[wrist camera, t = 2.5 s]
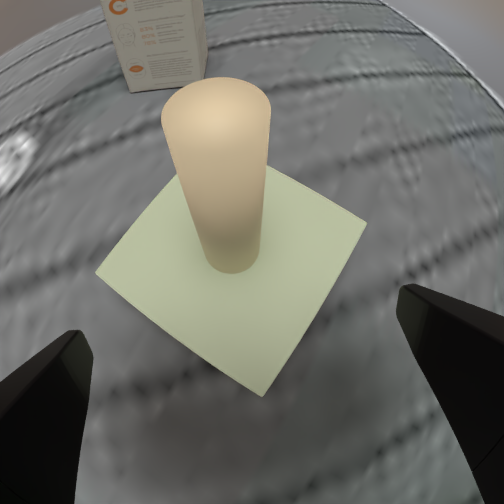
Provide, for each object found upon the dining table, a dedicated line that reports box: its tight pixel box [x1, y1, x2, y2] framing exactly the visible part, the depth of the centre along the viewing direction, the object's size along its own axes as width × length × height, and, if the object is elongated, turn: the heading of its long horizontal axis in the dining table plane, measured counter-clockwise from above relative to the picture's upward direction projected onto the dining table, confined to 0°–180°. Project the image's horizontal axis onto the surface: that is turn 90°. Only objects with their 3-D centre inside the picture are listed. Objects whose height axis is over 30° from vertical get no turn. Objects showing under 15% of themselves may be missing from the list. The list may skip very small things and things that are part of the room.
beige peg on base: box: [95, 77, 367, 397], centre depth 13 cm, size 11×11×11 cm
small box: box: [100, 0, 208, 93], centre depth 24 cm, size 8×6×13 cm
